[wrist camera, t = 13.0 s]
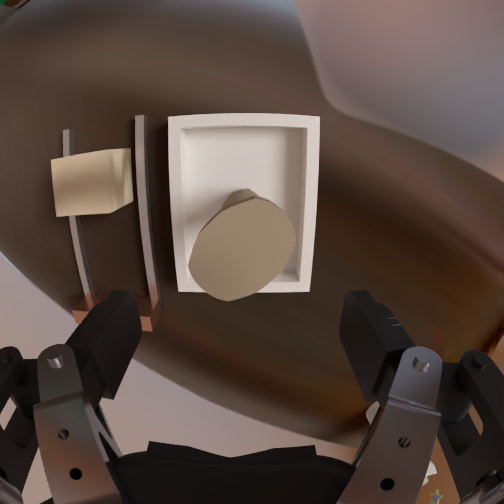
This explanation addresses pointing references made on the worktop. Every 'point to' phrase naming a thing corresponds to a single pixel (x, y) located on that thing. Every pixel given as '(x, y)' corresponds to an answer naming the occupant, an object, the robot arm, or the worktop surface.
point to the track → (151, 303)
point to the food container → (14, 3)
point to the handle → (242, 247)
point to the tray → (244, 180)
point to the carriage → (92, 182)
